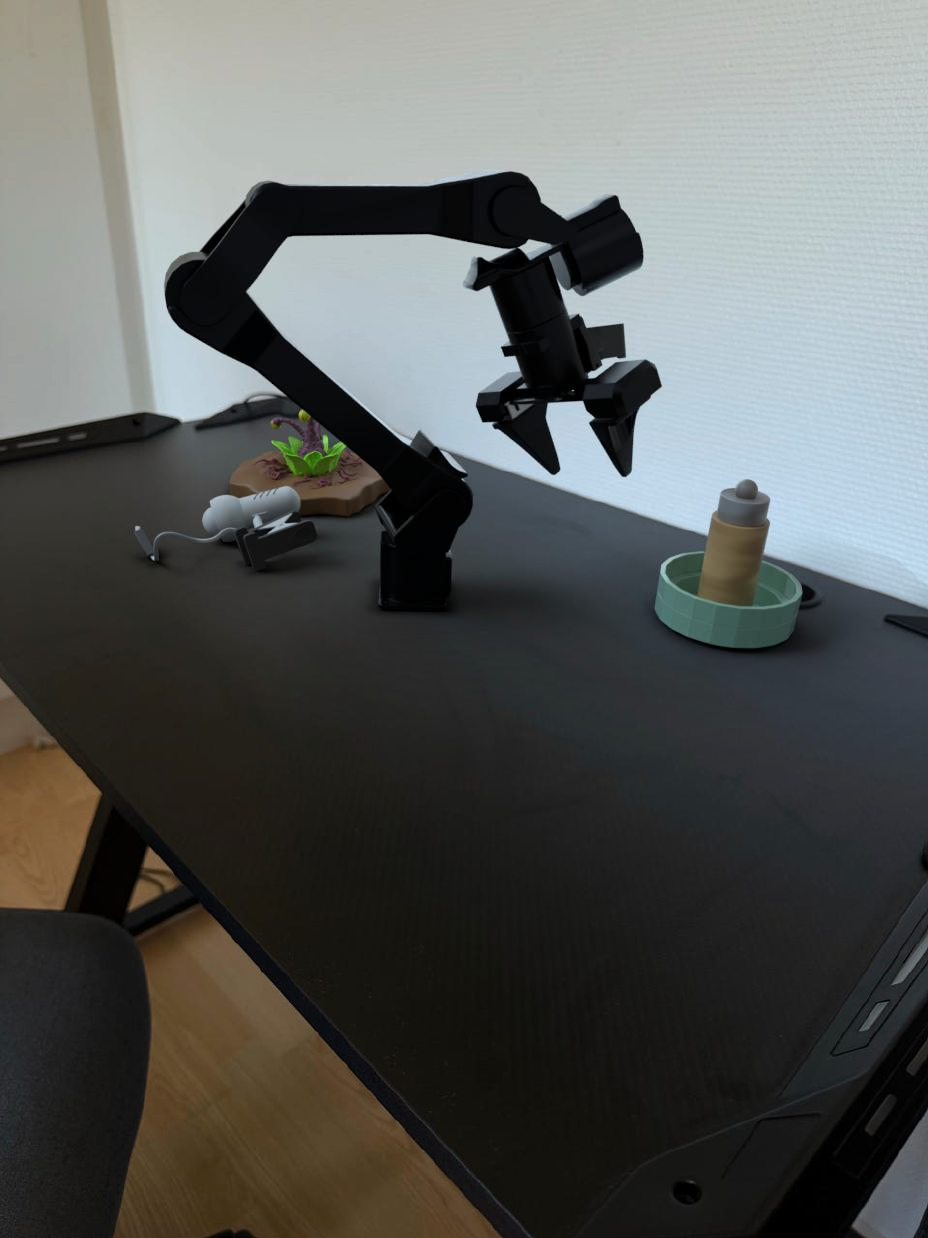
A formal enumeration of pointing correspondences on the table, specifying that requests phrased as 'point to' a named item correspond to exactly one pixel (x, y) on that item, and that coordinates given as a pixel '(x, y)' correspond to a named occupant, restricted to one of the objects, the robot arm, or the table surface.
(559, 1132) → the table surface
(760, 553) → the pepper mill
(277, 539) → the clip-on lamp
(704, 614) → the green shallow bowl
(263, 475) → the plant
